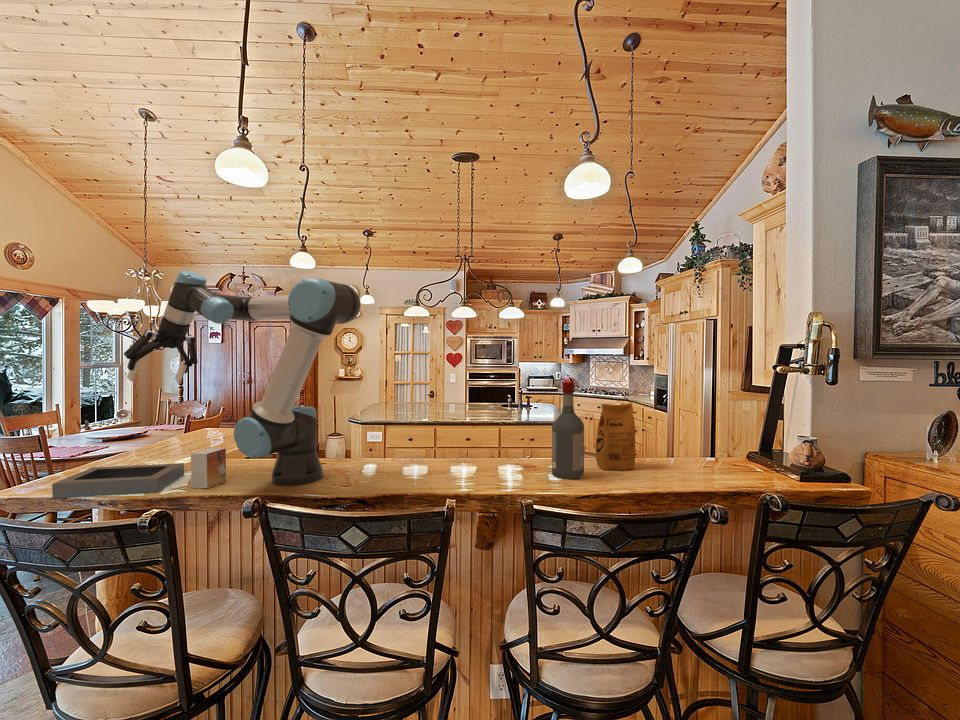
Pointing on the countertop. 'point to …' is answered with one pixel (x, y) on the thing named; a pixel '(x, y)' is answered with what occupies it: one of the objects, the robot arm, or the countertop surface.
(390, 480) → the countertop surface
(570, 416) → the liquor
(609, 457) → the coffee package
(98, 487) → the tray
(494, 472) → the countertop surface
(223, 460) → the small box
